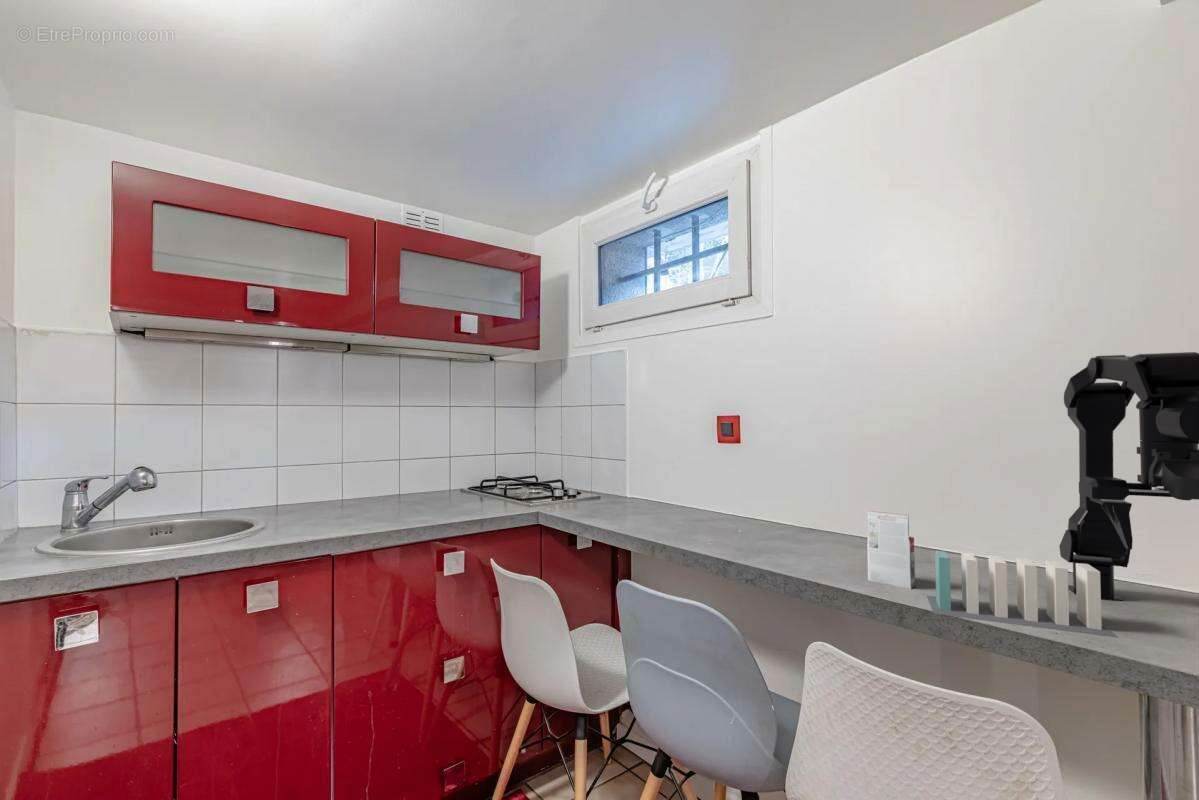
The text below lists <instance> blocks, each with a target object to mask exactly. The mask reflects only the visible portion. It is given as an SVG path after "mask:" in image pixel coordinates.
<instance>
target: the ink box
mask: <svg viewBox="0 0 1199 800" xmlns="http://www.w3.org/2000/svg"><path fill="white" fill-rule="evenodd" d="M886 516H888V517H890V518H894V519H896V520H886V519H880V518H879V517H886ZM909 521H910V519H909V514H902V513H893V512H882V511H875V510H867V535H866V536H867V537H866V539H867V541H866V543H867V545H866V546H867V547H866V548H867V550H866V551H867V553H866V554H867V581H868V582H874V583H878V584H883V585H889V586H894V587H898V588H903V589H908V590H909V589H910V590H912V589H914V588H913V587H915V586H916V572H915V571H916V567H915V565H916V564H915V537H913V536H910V530H909V529H910V528H909V527H910V525H909Z"/></svg>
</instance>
